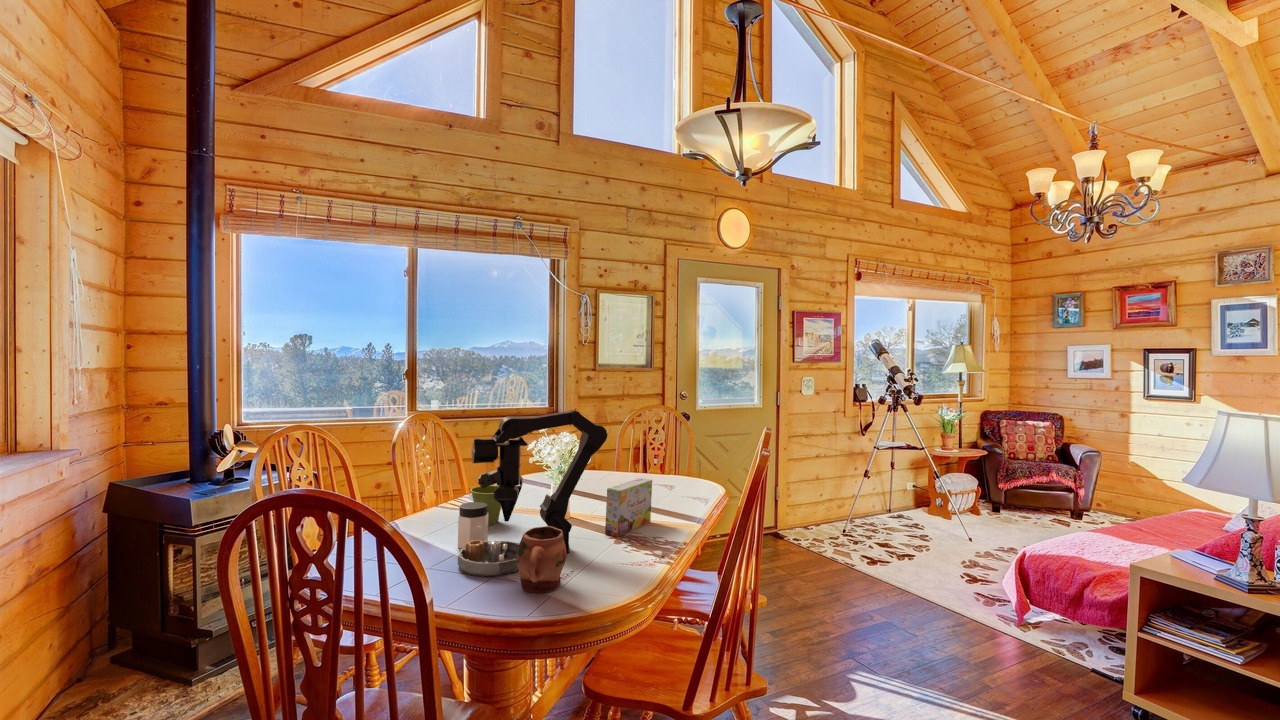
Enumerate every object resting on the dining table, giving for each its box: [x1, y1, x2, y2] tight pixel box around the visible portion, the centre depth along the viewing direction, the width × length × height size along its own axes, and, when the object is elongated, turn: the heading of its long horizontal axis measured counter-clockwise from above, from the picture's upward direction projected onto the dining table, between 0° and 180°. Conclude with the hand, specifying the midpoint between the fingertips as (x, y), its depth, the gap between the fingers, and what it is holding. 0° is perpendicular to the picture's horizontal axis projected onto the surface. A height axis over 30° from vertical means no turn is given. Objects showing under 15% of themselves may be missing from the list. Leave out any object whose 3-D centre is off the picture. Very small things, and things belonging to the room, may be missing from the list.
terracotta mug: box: [516, 525, 568, 594], centre depth 145 cm, size 20×12×14 cm, turn 2°
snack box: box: [604, 477, 653, 538], centre depth 197 cm, size 21×6×15 cm, turn 150°
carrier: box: [457, 540, 520, 578], centre depth 160 cm, size 18×18×6 cm
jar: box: [457, 501, 489, 550], centre depth 175 cm, size 9×8×12 cm
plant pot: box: [469, 485, 502, 526], centre depth 199 cm, size 12×12×11 cm
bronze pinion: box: [465, 540, 485, 562], centre depth 160 cm, size 5×5×5 cm
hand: (508, 516), depth 168 cm, fingers open, 9 cm apart
